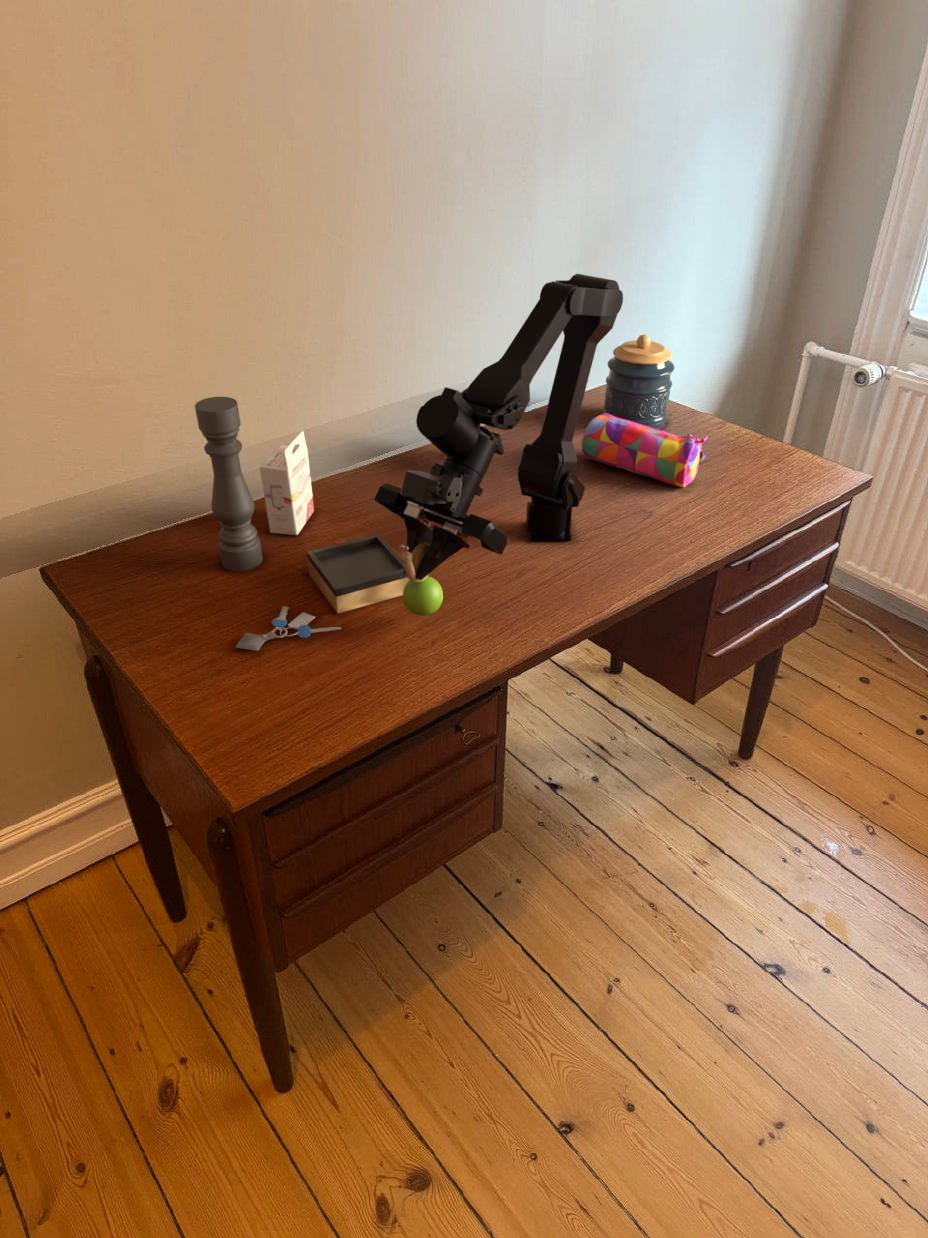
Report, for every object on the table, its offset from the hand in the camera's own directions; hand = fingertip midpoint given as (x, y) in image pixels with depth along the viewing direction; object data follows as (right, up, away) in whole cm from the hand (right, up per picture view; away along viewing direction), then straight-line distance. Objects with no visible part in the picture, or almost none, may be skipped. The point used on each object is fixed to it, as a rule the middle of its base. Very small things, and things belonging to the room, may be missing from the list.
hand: (412, 576), depth 115 cm
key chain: (-18, -7, +5) cm, 20 cm away
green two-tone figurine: (+1, -5, +5) cm, 7 cm away
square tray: (-9, 0, +14) cm, 17 cm away
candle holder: (-27, +3, +20) cm, 34 cm away
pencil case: (+39, +21, +45) cm, 64 cm away
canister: (+42, +35, +64) cm, 84 cm away
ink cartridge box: (-21, +10, +29) cm, 38 cm away
